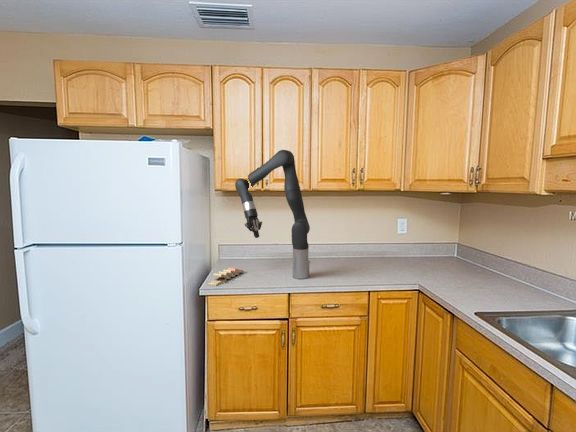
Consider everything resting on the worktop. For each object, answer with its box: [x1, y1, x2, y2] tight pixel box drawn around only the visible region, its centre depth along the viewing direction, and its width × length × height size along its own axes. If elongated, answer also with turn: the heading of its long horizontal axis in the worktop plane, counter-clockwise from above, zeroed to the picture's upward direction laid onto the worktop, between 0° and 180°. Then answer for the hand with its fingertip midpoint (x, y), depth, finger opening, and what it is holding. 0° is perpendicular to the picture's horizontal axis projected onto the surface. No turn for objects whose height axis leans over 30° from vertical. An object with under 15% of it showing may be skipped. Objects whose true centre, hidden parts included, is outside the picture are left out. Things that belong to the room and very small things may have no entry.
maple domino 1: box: [212, 272, 231, 279], centre depth 185 cm, size 2×5×10 cm
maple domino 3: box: [218, 271, 236, 277], centre depth 190 cm, size 2×5×10 cm
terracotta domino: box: [227, 267, 244, 273], centre depth 198 cm, size 2×5×10 cm
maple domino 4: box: [222, 269, 240, 275], centre depth 194 cm, size 2×5×10 cm
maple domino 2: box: [207, 277, 227, 287], centre depth 182 cm, size 2×5×10 cm
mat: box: [225, 270, 249, 283], centre depth 196 cm, size 23×8×1 cm, turn 157°
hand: (257, 237), depth 197 cm, fingers closed
